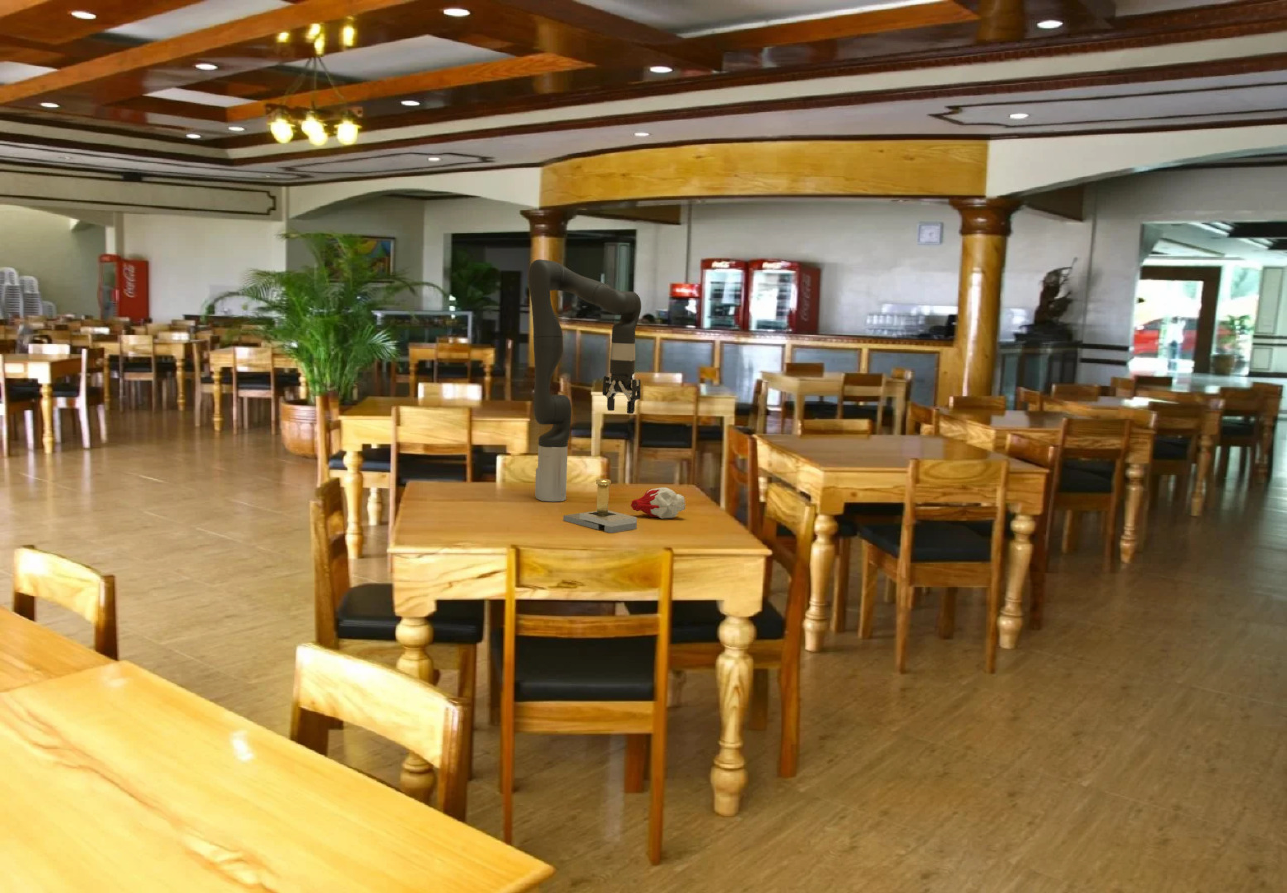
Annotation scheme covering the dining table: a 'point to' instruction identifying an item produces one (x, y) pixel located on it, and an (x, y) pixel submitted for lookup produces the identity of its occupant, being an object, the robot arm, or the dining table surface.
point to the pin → (602, 496)
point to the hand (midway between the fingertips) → (620, 412)
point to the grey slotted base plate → (603, 521)
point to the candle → (660, 503)
